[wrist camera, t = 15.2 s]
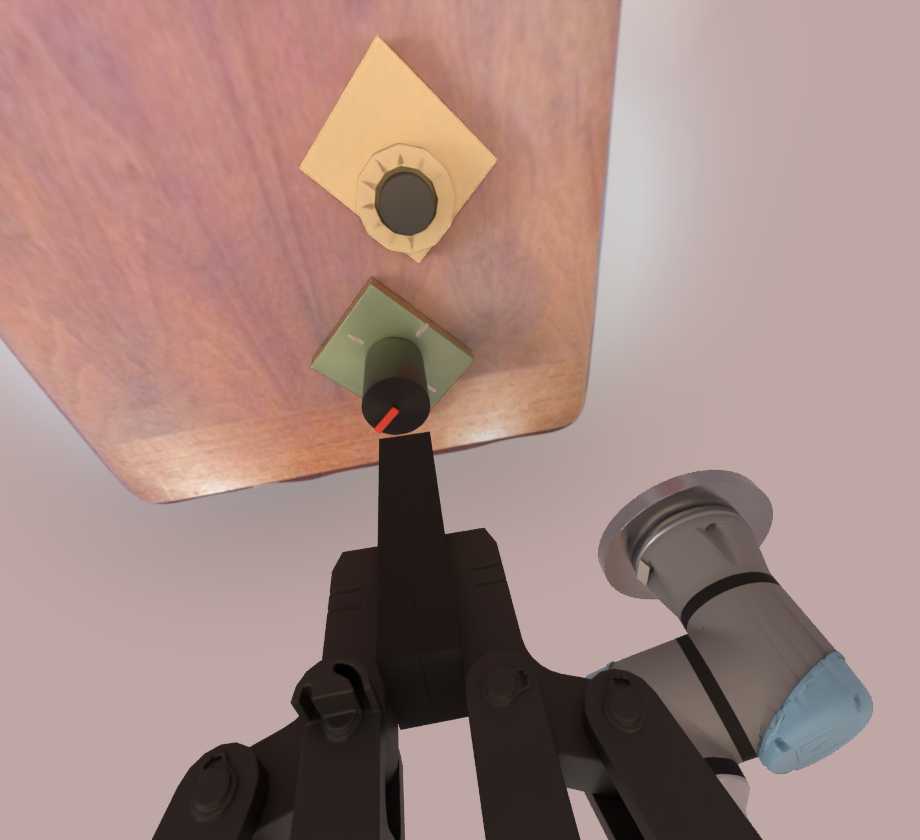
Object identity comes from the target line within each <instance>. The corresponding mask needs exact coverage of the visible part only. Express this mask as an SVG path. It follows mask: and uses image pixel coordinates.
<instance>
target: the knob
mask: <svg viewBox="0 0 920 840" xmlns="http://www.w3.org/2000/svg"><path fill="white" fill-rule="evenodd" d="M362 412H363V415H364V417H365V419H366V421H367V422H368V423H369V424H370V425H371V426H372V427H373V428H374V430H375V431H377V432H378V433H381V432H383V433H386V434H392V435H399V434H405V433H409V432H411V431H414V430H415V429H417V428H418V427H420V426H421V425H422V424H423V423H424V422H425V420H426V419H427V417H428V415H429V412H430V398H429V392H428V386H427V380H426V374H425V367H424V361H423V357H422V354H421V352H420V350H419V349H418V348H417V347H416V346H415V345H414V344H413V343H411V342H410V341H408V340H405V339H402V338H395V337H392V338H386V339H383V340H380V341H378V342H377V343H375V344H374V345H373V346H372V347H371V348H370V350H369V351H368V353H367V355H366V359H365V369H364V382H363V395H362Z"/></svg>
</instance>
